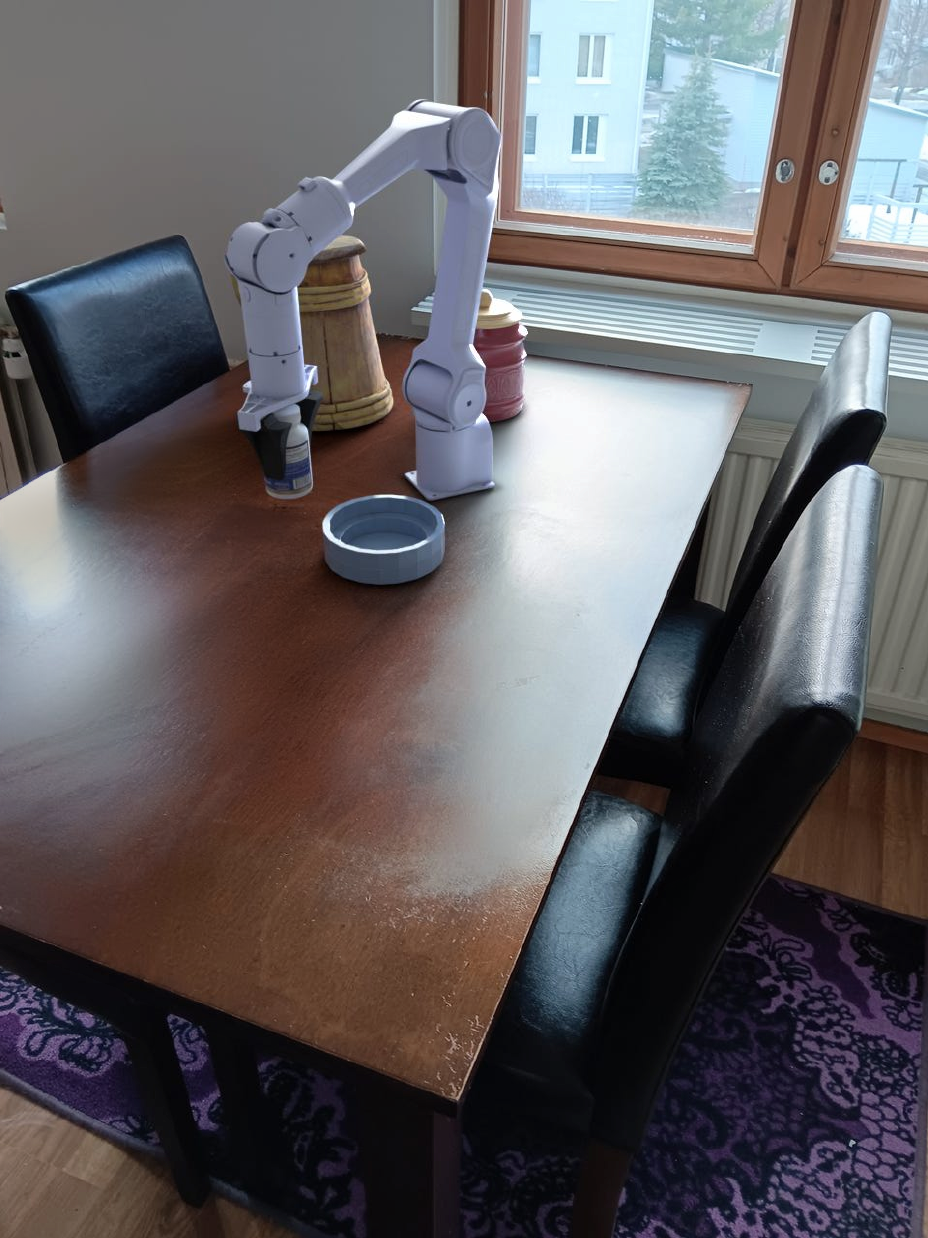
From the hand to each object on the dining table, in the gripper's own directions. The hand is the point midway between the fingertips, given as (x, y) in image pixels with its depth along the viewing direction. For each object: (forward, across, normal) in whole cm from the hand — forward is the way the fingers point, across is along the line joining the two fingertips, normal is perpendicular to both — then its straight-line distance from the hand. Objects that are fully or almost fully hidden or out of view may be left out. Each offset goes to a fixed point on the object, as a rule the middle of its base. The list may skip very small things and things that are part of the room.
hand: (287, 466), depth 109 cm
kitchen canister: (+10, -46, +8) cm, 48 cm away
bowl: (+10, 0, +11) cm, 15 cm away
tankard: (+10, -37, -15) cm, 41 cm away
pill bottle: (+3, 0, 0) cm, 3 cm away
